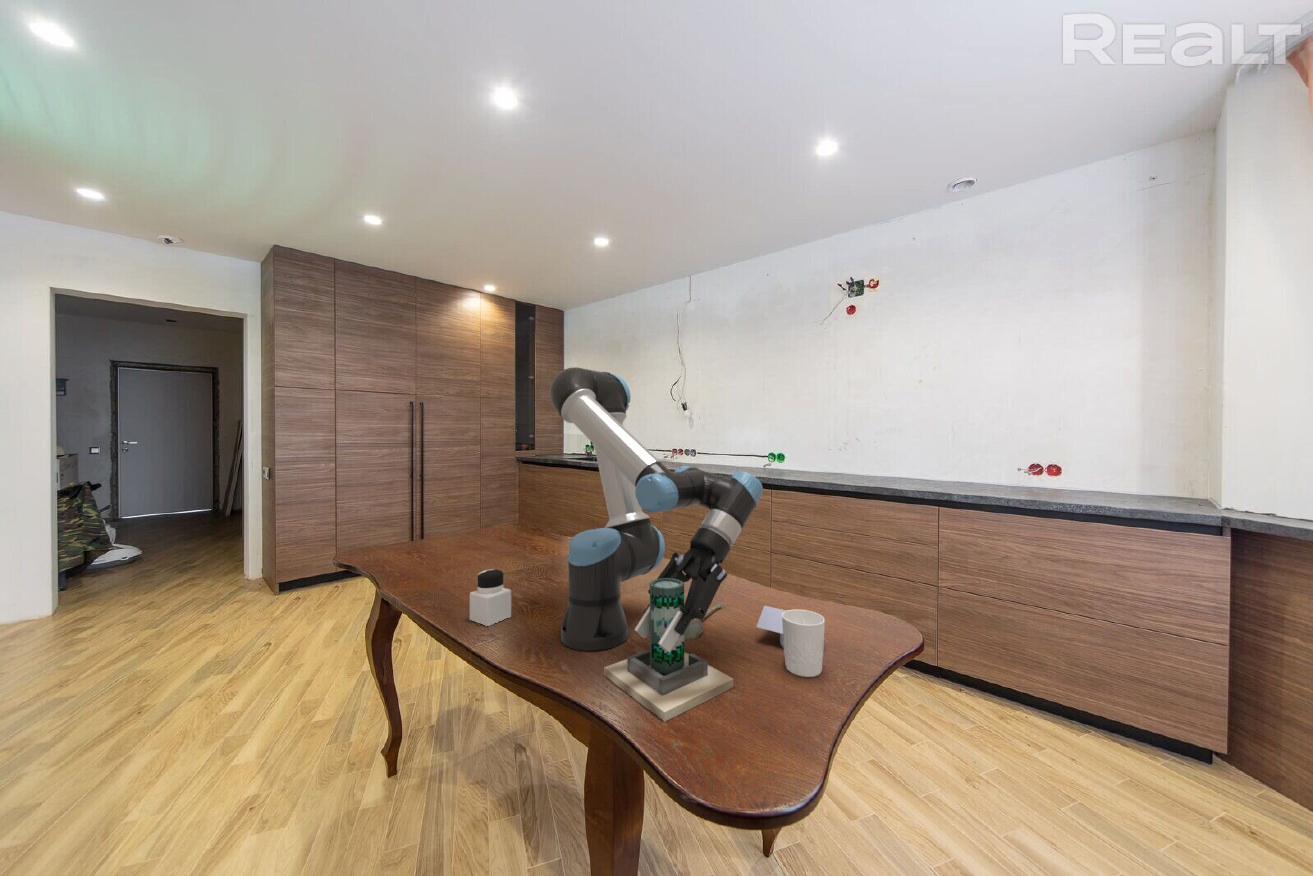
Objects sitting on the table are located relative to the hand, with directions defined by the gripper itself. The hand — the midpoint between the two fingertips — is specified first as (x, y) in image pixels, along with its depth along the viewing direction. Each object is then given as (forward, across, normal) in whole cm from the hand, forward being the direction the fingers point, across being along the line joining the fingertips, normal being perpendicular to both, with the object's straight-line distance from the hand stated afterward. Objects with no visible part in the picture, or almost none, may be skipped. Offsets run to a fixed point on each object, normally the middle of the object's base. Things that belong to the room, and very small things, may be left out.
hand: (651, 640), depth 80 cm
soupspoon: (-13, +16, -26) cm, 34 cm away
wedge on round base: (-19, -5, -31) cm, 37 cm away
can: (+1, 0, -6) cm, 7 cm away
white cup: (-13, -13, -25) cm, 31 cm away
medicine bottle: (+15, +50, +3) cm, 52 cm away
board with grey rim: (+3, 0, -8) cm, 9 cm away
